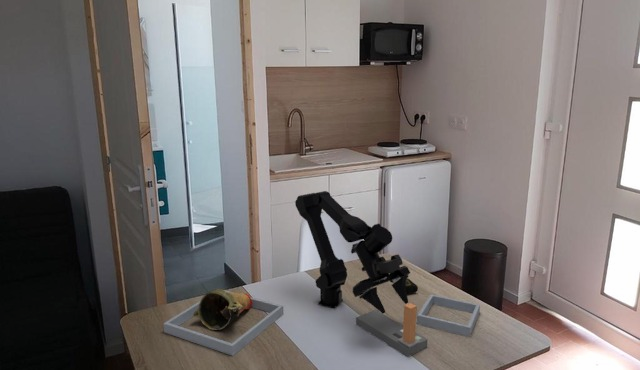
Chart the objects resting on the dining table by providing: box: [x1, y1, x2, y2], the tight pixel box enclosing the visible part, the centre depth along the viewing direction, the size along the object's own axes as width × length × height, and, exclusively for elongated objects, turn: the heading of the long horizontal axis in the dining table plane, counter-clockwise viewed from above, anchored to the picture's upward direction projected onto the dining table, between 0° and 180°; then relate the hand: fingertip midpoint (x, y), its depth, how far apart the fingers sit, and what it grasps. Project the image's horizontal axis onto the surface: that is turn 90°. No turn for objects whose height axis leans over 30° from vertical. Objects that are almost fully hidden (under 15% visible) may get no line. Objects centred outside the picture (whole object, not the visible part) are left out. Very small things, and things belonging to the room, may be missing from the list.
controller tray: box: [416, 293, 481, 338], centre depth 149 cm, size 16×16×3 cm
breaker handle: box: [398, 302, 420, 348], centre depth 130 cm, size 4×4×11 cm
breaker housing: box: [355, 309, 429, 358], centre depth 140 cm, size 22×8×3 cm, turn 37°
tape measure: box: [406, 277, 419, 295], centre depth 168 cm, size 7×7×4 cm
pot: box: [192, 288, 252, 331], centre depth 149 cm, size 18×12×19 cm
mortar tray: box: [163, 289, 284, 357], centre depth 147 cm, size 26×26×3 cm
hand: (395, 307), depth 134 cm, fingers open, 9 cm apart
